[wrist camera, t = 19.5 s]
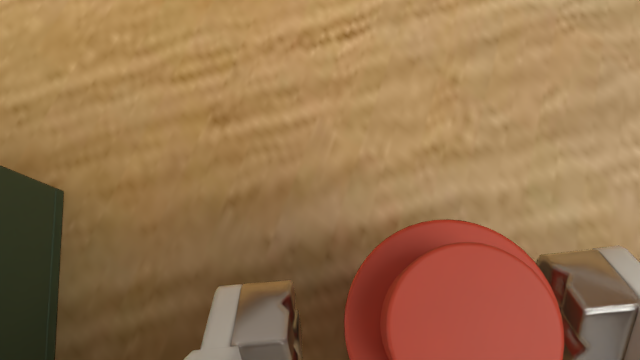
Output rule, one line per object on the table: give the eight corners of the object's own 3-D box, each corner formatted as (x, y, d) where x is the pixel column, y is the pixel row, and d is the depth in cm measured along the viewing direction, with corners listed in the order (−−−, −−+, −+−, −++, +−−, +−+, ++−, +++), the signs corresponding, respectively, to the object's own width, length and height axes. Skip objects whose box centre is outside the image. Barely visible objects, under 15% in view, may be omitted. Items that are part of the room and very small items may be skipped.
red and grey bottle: (353, 371, 15) (353, 497, 5) (343, 273, 16) (324, 210, 6) (451, 362, 15) (654, 472, 5) (435, 264, 16) (580, 183, 6)
